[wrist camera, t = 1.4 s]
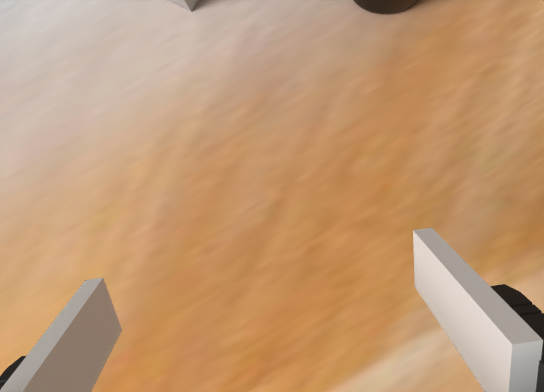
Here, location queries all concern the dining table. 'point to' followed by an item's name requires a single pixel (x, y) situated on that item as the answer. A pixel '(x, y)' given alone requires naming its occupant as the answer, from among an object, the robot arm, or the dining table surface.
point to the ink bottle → (385, 5)
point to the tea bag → (185, 3)
